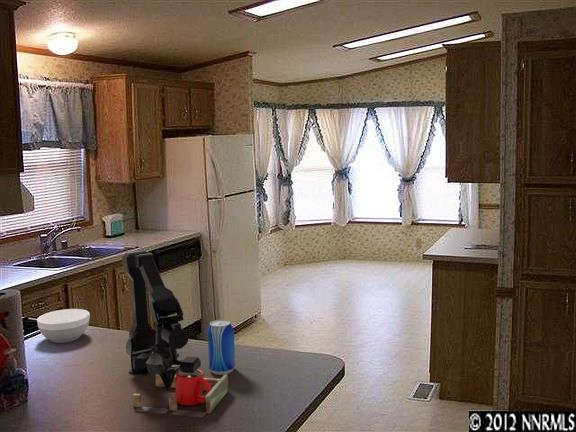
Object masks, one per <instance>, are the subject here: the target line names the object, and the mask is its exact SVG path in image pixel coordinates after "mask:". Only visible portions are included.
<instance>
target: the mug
mask: <svg viewBox="0 0 576 432" xmlns="http://www.w3.org/2000/svg"><path fill="white" fill-rule="evenodd" d="M175 375H176V386H175V388H174V389H175V390H174V391H175V392H174V397H177V404H179V405H184V406H195V405H198V404H206V398H205V396H206V395H207V394H208V393H209V392H210V390H211V387H210V385H209V383H208V382H207V381H206V380H205V379H204V378H205V377H204V376H205V372H204V371H203V370H202V369H201V370H200V369H199V368H198V369H197V370H196V371H195V372H194V373H184V372H182V371H181V370H180V369H179V370H178V371H177V372H176V374H175ZM203 385H204V386H205V388H206V390H205V391H206V392H205V396H204V397H203V395H204V394H203V392H204V390H203Z"/></svg>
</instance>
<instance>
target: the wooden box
mask: <svg viewBox="0 0 576 432" xmlns="http://www.w3.org/2000/svg"><path fill="white" fill-rule="evenodd" d="M228 375H229V374H225V375H222V377H221V378H215V377H214V378H212V377H204V379H205V380H206V381H207V382H208V383H209V385H210V387H211V390H210V392H209V393H208V394H207V395H206V394H205V396H204V397H205V398H206V403H205V412H204V411H194V410H183V409H178V403H177V397H175V396H169V397H168V408H165V407H164V408H162V407H153V406H152V407H151V406H142V405H143V404H142V394H141V393H133V394H132V402H133V403H132V404H133V408H136V409H135V412H140V413H151V414H160V415H166V414H167V413H168V412H169V411H173V412H172V413H171V415H172V416H179V417H180V416H181V417H190V418H205V416H206V415H207V414H211V413H212V412H213V410H214V409H215V408H216V407H217V406H218V404H219V403H220V402H221V401H222V399H223V398H224V396H225V395H226V394H227V393H228V392H229V383H228V382H229V381H228V380H229V378H228ZM155 386H156V387H160V388H161V387H162V388H163V387H164V388H165V385H164V383H163V381H162V379H161V377H160V375H159V374H157V373H156V374H155ZM175 386H176V374H175V377H174V379H173V382H172V385H171V388H174V389H175ZM171 388H170V389H171ZM203 391H206V388H205V386H204V385H203Z"/></svg>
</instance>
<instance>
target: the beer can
mask: <svg viewBox="0 0 576 432" xmlns="http://www.w3.org/2000/svg"><path fill="white" fill-rule="evenodd" d="M206 330H207V333H206V334H207V347H208V348H207V349H208V350H207V351H208V353H207V354H208V365H209V366H208V368H209V370H210V372H211V373H212V374H214V375H219V376H223V375H229V374H230V373H232V372H233V371H234V370H235V368H236V350H235V330H234V327H233V325H232V324H231V320H227V319H216V320H213V321H210V323H209V327H208V328H207V329H206Z"/></svg>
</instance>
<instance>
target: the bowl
mask: <svg viewBox="0 0 576 432" xmlns="http://www.w3.org/2000/svg"><path fill="white" fill-rule="evenodd" d="M36 322H37V323H36V324H37V327H38V330H39V333H40V334H41V335H42V336H43V337H44V338H45V339H48V340H49V341H50V342H51V343H54V344H55V343H56V344H60V343H61V344H64V343H70V342H74V341H77V340H79V339H80V338H81V336H82V335H83V334H84V333H86V330H87V329H88V328H89V324H90V312H89V311H88V310H86V309H81V308H67V309H59V310H57V309H56V310H53V311H49V312H46V313H44V314H42V315H39V317H38V316H37V318H36Z"/></svg>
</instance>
